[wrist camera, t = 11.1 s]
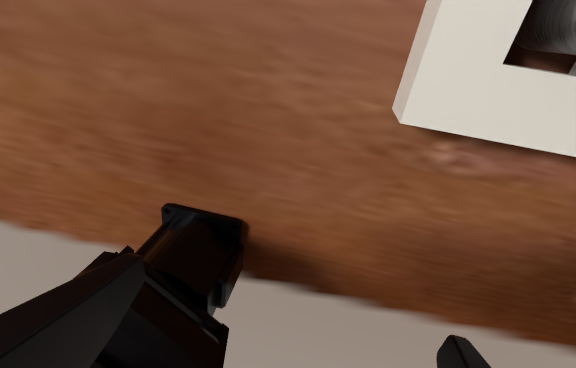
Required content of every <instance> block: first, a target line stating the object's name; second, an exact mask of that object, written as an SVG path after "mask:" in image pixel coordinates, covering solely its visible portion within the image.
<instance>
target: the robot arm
mask: <svg viewBox="0 0 576 368" xmlns="http://www.w3.org/2000/svg"><path fill="white" fill-rule="evenodd" d="M168 209H169V210H170V211H169V210H168ZM161 212H162V223H163V224H162V225H161V226H160V227H159V228H158V230H157V231H156V232H155V233H154V234H153V235H152V236H151V237H150V238H149V239H148V240H147V241H146V242H145V243H144V244H143V245H142V246H141V247H140V248H139V249H138V250H137V251H136V252H135V253H134V250H133V249H132V248H130V247H129V246H128V245H127V246H126V247H125V248H124V249H123V250H122V251H121V252H120V253H118V252H115V253H111V252H105V251H104V252H103V253H102V254H101V255H99V256H98V257H97V258H96V259H95V260H94V261H93V262H92V263H91V264H90V265H88V266H87V267H86V268H85V269H84V270H83V271H82V272H81V273H79V274H78V275H77V276H76V277H75V278H73V280H71V281H68V282H66V283H64V284H62V285H60V286H58V287H56V288H54V289H52V290H50V291H48V292H46V293H43V294H41V295H39V296H37V297H35V298H33V299H31V300H29V301H27V302H25V303H23V304H21V305H19V306H16V307H14V308H12V309H10V310H8V311H6V312H4V313H2V314H0V368H223V364H224V358H225V351H226V345H227V339H228V333H229V328H228V327H227V326H226V325H224V324H221V323H220V322H218V321H217V320H216V319H215V318H214V317H212V316H213V314H214V312H215V310H216V308H223V307H225V306H226V304H227V301H228V299H229V297H230V294H231V292H232V290H233V288H234V286H235V283H236V281H237V279H238V277H239V274H240V272H241V270H242V264H243V253H244V247H243V245H242V244H241V232H242V223H241V221H239V220H238V219H235V218H230V217H226V216H222V215H218V214H213V213H209V212H205V211H200V210H196V209H192V208H188V207H183V206H179V205H175V204H171V203H167V204H165V205H164V206H163V207H162V209H161ZM233 224H235V225H236V226H237V227H235V226H234V225H233ZM437 368H491V367H490V366H489V364H488V363H487V362H486V361H485V360H484V358H483V357H482V356H481V355H480V354H479V352H478V351H477V350H476V349H475V348H474V346H473V345H472V344H471V343H470V342H469V341H468V340H467V339H466V338H463V337H459V336H455V335H449V336H448V337H447V339H446V340H445V341H444V343H443V345H442V346H441V347H440V349H439V350H438V353H437Z"/></svg>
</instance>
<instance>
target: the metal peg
mask: <svg viewBox="0 0 576 368" xmlns="http://www.w3.org/2000/svg"><path fill="white" fill-rule="evenodd" d="M514 43H515V44H516V45H517V46H519V47H521V48H523V49H527V50H534V51H543V52H553V53H562V54H572V55H576V0H532V3H531V5H530V7H529V9H528V11H527V13H526V15H525V17H524V19H523V22H522V24H521V26H520V28H519V30H518V32H517V34H516V36H515V38H514Z"/></svg>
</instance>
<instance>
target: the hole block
mask: <svg viewBox="0 0 576 368" xmlns="http://www.w3.org/2000/svg"><path fill="white" fill-rule="evenodd" d="M531 3H532V0H427V1H426V4H425V7H424V10H423V14H422V17H421V20H420V23H419V26H418V29H417V32H416V35H415V38H414V42H413V45H412V48H411V51H410V54H409V57H408V60H407V63H406V66H405V69H404V73H403V76H402V79H401V82H400V85H399V88H398V91H397V94H396V97H395V101H394V104H393V107H392V110H393V112H394V113H395V115H396V117H397V119H398V121H399V122H400V123H402V124H407V125H412V126H418V127H423V128H428V129H433V130H438V131H444V132H449V133H454V134H459V135H464V136H469V137H475V138H480V139H485V140H490V141H495V142H501V143H506V144H511V145H516V146H521V147H527V148H532V149H537V150H542V151H547V152H553V153H558V154H563V155H568V156H573V157H576V61H575V63H574V65H573V66H572V68H571V70H570V71H569V73H568V74H565V73H560V72H554V71H548V70H542V69H536V68H530V67H524V66H518V65H512V64H506V63H503V62H504V60H505V57H506V55H507V53H508V51H509V49H510V47H511V45H512V43H513V41H514V38H515V36H516V34H517V32H518V30H519V28H520V26H521V24H522V22H523V19H524V17H525V15H526V13H527V11H528V9H529V7H530V5H531Z"/></svg>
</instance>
